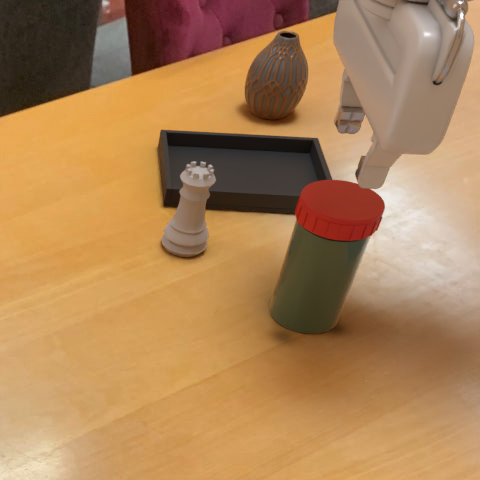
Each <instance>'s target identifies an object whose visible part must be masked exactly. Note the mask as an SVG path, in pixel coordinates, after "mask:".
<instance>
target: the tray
mask: <svg viewBox="0 0 480 480" xmlns="http://www.w3.org/2000/svg"><path fill="white" fill-rule="evenodd" d="M157 151H158V153H157V154H158V162H159V163H158V164H159V171H160V172H159V173H160V183H161V184H160V185H161V195H162V207H169V208H178V205H179V202H180V197H181V195H180V192H179V191H180V189H181V188H183V183H182V181H181V178H180V175H181V173H182V172H183V171H184V170H185V169H186V166H187V164H189V165H190V164H191V162H194V161H196V166H200V163H201V162H206V166H205V167H206V168H208V165H210V164H211V165H212V166H213V169H214V173H213V174H214V176H215V178H216V181H215V183H214V184H213V185H212V186H211V187H210V188H209V193H210V196H209V198H208V199H207V201H206V207H205V210H218V211H219V210H222V211H235V212H236V211H239V212H255V213H271V214H290V215H295V213H294V212H295V209H296V206H297V203H298V199H299V197H300V194H301V192H302V190H303V189H304V187H305V186H307V185H308V184H310V183H313V182H316V181H320V180H333V176H332V174H331V171H330V169H329V166H328V162H327V160H326V158H325V155H324V152H323V148H322V146H321V142H320V141H319V138H318V137H310V136H309V137H308V136H307V137H306V136H286V135H271V134H270V135H268V134H251V133H231V132H214V131H197V130H196V131H193V130H191V131H190V130H177V129H175V130H174V129H160V132H159V138H158V144H157Z"/></svg>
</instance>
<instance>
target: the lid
mask: <svg viewBox="0 0 480 480" xmlns="http://www.w3.org/2000/svg"><path fill="white" fill-rule="evenodd" d="M385 209H386V203H385V200H384V199H383V198H382V197H381V196H380V195H379V194H378V193H377V192H375V191H374V189H366V188H361V187H360V186H359V185H358V182H352V181H349V180H342V179H332V180H320V181H316V182H313V183H310V184H308V185H307V186H305V187H304V189H303V190H302V192H301V194H300V197H299V199H298V203H297V206H296V209H295V212H294V213H295V214H294V215H295V221H296V220H297V221H298V222H299V224H300V225H301V226H302V227H303V228H305V229H306V230H308V231H310V232H311V233H313V234H316V235H318V236H321V237H324V238H328V239H333V240H340V241H355V240H362V239H365V238H367V237H370V236H371V237H372V236H373V235H374V234H375V233H376V232H378V230H379V227H380V224H381V222H382V219H383V214H384V212H385ZM371 237H370V238H371Z"/></svg>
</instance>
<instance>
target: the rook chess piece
mask: <svg viewBox="0 0 480 480" xmlns="http://www.w3.org/2000/svg"><path fill="white" fill-rule="evenodd" d="M205 166H206V162H201V163H200V166H196V161H194V162H191V164H190V165H189V164H187V166H186V169H185V170H184V171H183V172H182V173H181V175H180V178H181V181H182V183H183V188H181V189H180V191H179V192H180V195H181V197H180V202H179V205H178V207H176V210H175V212H174V213H175V214H174V216H172V217H171V218H170V220H169V222H167V224H166V226H164V229H163V235H162V237H161V239H160V240H161V244H162V246H163V248H164V249H165V250H166V251H167V252H168V253H170V254H172V255H174V256H178V257H183V258H191V257H195V256H198V255H199V254H201V253H203V252H204V251H205V250H206V249H207V247H208V245H209V243H208V239H209V237H210V234H209V229H208V227H207V221H206V209H205V207H206V201H207V199H208V198H209V196H210V193H209V188H210V187H211V186H212V185H213V184H214V183H215V181H216V178H215V176H214V174H213V173H214V169H213V166H212V165H211V164H210V165H208V168H206V167H205Z"/></svg>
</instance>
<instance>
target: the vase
mask: <svg viewBox="0 0 480 480" xmlns="http://www.w3.org/2000/svg"><path fill="white" fill-rule="evenodd" d="M308 80H309V63H308V59H307V57H306V54H305V52H304V50H303V47H302V45H301V41H300V35H299V34H298V33H297V32H295V31H291V30H281V31H279V32H277V34H275V36H274V38H273V39H272V40H271V41H270V42H269V43H268V44H267V45H266V46H264V48H263V49H261V50H260V52H258V54H256V56H255V57H254V59H253V60H252V62H251V64H250V66H249V69H248V70H247V73H246V77H245V81H244V99H245V103H246V105H247V107H248V109H249V111H250V112H251V114H253V115H254V116H256V117H257V118H260V119H264V120H280V119H282V118H284V117H286V116H287V115H289V114H291V113H292V112H294V110H296V108H297V107H298V105H299V104H300V102H301V101H302V98H303V96H304V94H305V91H306V89H307V85H308Z"/></svg>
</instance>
